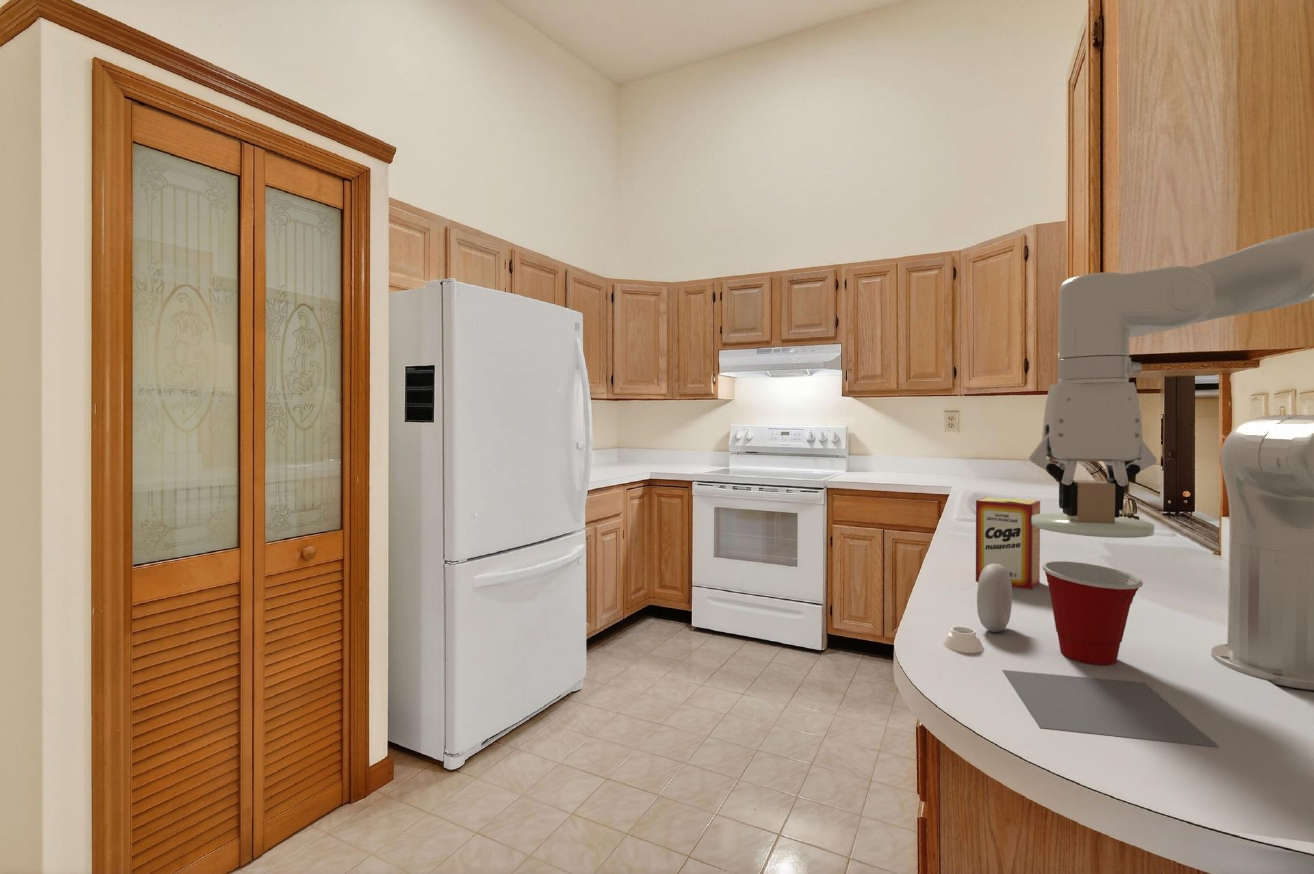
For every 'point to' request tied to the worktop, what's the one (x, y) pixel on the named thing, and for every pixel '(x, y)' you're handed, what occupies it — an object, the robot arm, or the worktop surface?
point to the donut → (994, 597)
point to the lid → (1094, 515)
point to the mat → (1103, 708)
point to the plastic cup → (1090, 609)
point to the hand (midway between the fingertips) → (1090, 513)
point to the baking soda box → (1009, 539)
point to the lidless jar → (963, 640)
